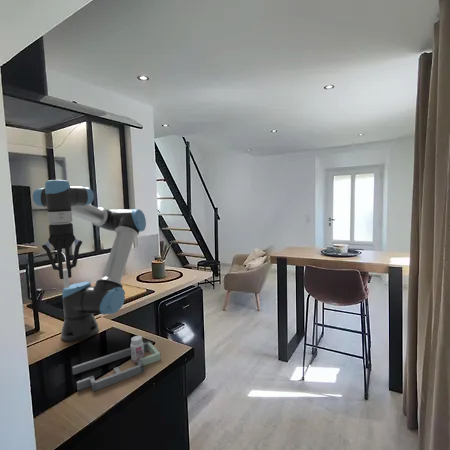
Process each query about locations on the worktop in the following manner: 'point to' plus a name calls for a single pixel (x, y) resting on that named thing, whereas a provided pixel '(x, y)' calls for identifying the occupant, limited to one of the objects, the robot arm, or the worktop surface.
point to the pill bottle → (137, 348)
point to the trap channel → (117, 374)
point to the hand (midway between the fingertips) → (66, 286)
